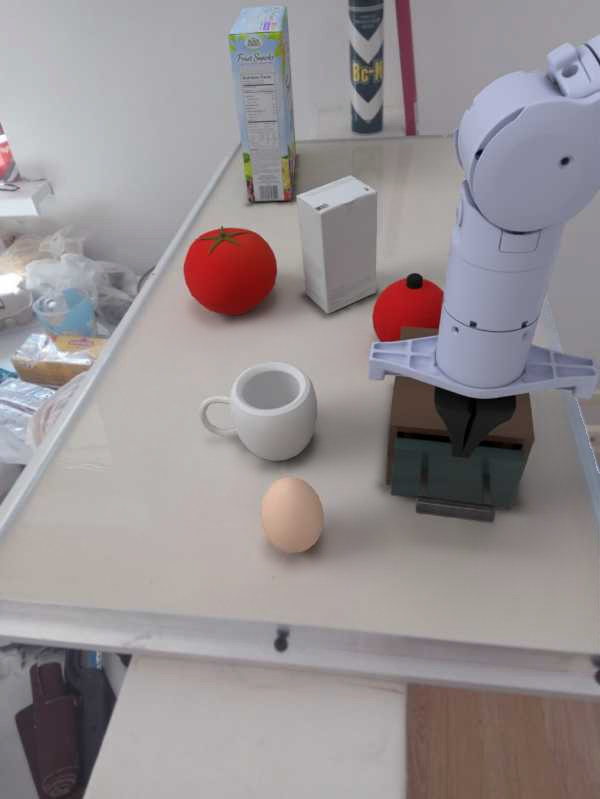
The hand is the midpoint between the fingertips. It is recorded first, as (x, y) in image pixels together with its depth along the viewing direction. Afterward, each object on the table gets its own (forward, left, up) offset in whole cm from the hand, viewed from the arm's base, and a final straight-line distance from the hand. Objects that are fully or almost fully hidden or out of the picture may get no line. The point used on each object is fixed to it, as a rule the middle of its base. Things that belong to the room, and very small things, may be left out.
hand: (460, 447), depth 43 cm
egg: (+13, +5, -10) cm, 17 cm away
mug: (+19, -6, -9) cm, 22 cm away
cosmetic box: (+15, -33, -9) cm, 38 cm away
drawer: (0, -5, -8) cm, 10 cm away
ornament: (+5, -23, -10) cm, 25 cm away
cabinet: (0, -9, -9) cm, 13 cm away
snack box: (+33, -71, -9) cm, 79 cm away
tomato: (+29, -30, -10) cm, 43 cm away
